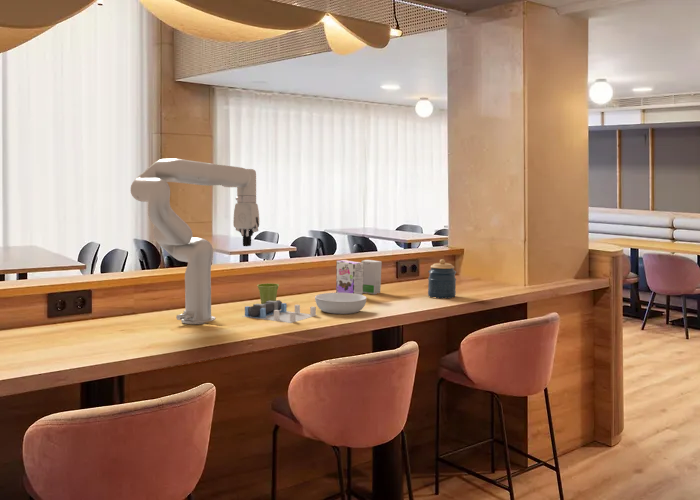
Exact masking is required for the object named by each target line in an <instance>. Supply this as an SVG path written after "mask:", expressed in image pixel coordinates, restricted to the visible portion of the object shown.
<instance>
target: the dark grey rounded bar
mask: <svg viewBox="0 0 700 500" xmlns="http://www.w3.org/2000/svg"><path fill="white" fill-rule="evenodd" d="M281 303H283V302H282V301H281V300H279V299H278V300H277V299H276V301H266V303H264V304H261V303H253V305H250V307H249V309H248V313H249V315H250V316H251V317H254V316H260V309H261V308H266V313H270V312H271V313H274V310H281Z"/></svg>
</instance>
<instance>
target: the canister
mask: <svg viewBox="0 0 700 500" xmlns="http://www.w3.org/2000/svg"><path fill="white" fill-rule="evenodd" d="M456 273H457V271H456V270H455V266H454V265H453V264H452V263H448V262H446V260H445V259H444V258H442V259H439V262H436V263H433V264H431V265H430V269H429V270H428V274H429V276H428V277H427V279H428V281H427V282H428V287H427V295H428V297H429V296H430V297H429V298H432V297H436V298H435V299H443V298H446V299H453V298H452V297H454V298H455V297H456V294H457V292H456V290H457V289H456V286H457V284H456V283H457V282H456V281H457V277H456Z"/></svg>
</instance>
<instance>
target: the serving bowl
mask: <svg viewBox="0 0 700 500" xmlns="http://www.w3.org/2000/svg"><path fill="white" fill-rule="evenodd" d="M314 300H315V305H316V307H317V308H318V309H319V310H321V311H322V312H324V313H328V314H334V315H347V314H348V315H349V314H355V313H359V312H360V311H362V309H364V307H365V305H366V303H367V296H366V295H360V294H354V293H336V292H324V293H320V294H317V295H315V296H314Z"/></svg>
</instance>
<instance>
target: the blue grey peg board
mask: <svg viewBox="0 0 700 500" xmlns="http://www.w3.org/2000/svg"><path fill="white" fill-rule="evenodd" d="M287 303H288V302H287ZM287 303H285V302H282V303H281V310H274V313H271V312H270V313H266V308H261V309H260V316H254V317H251V316H250V315H249V313H248V309H249V307H251V305H250V306H249V305H246V306H244V315H242V317H245V318H251V319H257V320H259V319H260V320H267V321H273V322H280V323H281V322H282V323H287V324H292V323H296V322H299V321H303V320H306V319H309V318H312V317H317V316H318V314H316V313H317V311H316V309H317V306H310V310H309V311H310V313H305V312H304V313H303V312H301V305H300V304H294V311H288V309H287V306H288V305H287Z"/></svg>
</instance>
